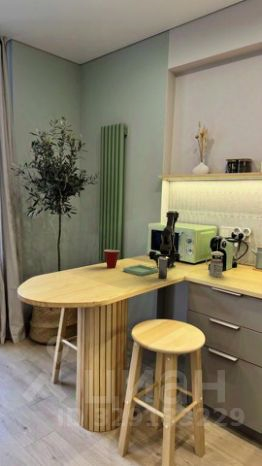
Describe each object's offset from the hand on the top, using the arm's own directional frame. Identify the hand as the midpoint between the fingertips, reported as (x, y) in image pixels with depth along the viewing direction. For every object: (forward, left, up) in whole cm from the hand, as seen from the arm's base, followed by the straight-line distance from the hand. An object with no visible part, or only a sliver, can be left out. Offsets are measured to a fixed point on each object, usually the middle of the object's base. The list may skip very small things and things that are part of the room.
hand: (162, 267), depth 192 cm
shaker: (-1, -1, -7) cm, 7 cm away
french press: (-34, +16, -7) cm, 38 cm away
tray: (-3, -20, -7) cm, 21 cm away
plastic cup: (+3, -41, -7) cm, 41 cm away
